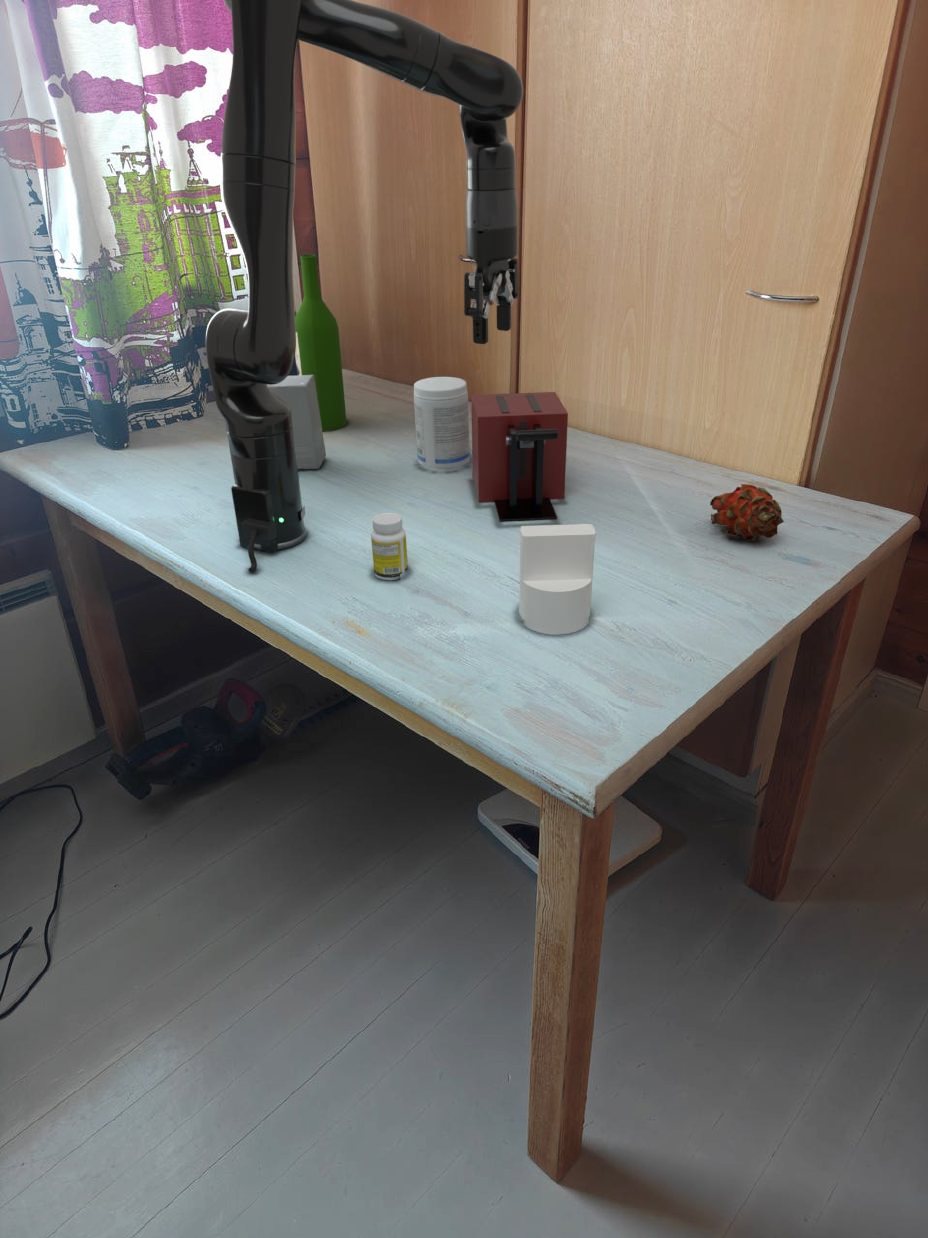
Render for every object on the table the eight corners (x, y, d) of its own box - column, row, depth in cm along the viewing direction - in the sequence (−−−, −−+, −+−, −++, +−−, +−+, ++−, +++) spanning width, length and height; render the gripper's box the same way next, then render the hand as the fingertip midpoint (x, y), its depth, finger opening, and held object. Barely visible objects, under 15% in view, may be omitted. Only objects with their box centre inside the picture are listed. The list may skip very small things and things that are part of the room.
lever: (558, 442, 122) (557, 425, 121) (517, 444, 121) (517, 426, 121) (542, 447, 136) (541, 432, 135) (506, 449, 135) (505, 433, 135)
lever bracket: (557, 524, 136) (560, 438, 129) (499, 526, 135) (499, 440, 128) (547, 499, 145) (549, 417, 138) (492, 501, 144) (492, 419, 137)
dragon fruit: (774, 562, 127) (708, 545, 136) (805, 517, 128) (738, 503, 138) (754, 525, 122) (686, 510, 131) (786, 479, 123) (717, 467, 132)
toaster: (564, 503, 143) (568, 412, 135) (478, 507, 142) (477, 416, 134) (552, 476, 153) (555, 391, 146) (472, 480, 152) (471, 394, 145)
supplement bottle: (390, 562, 125) (387, 508, 121) (415, 571, 123) (412, 516, 119) (366, 574, 122) (362, 519, 118) (391, 584, 120) (387, 528, 115)
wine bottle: (300, 420, 184) (281, 253, 167) (342, 415, 186) (327, 250, 169) (306, 433, 176) (287, 260, 160) (350, 428, 179) (335, 257, 162)
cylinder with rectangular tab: (584, 598, 115) (589, 514, 109) (595, 633, 108) (601, 545, 102) (515, 600, 115) (517, 516, 109) (522, 635, 107) (523, 547, 101)
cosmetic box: (326, 458, 163) (318, 373, 155) (317, 472, 157) (308, 384, 149) (282, 457, 164) (271, 372, 156) (271, 471, 158) (259, 383, 150)
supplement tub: (477, 458, 162) (477, 378, 155) (457, 475, 155) (455, 392, 147) (430, 452, 165) (427, 373, 158) (408, 468, 158) (403, 387, 151)
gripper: (488, 215, 134) (490, 324, 143) (445, 228, 123) (450, 345, 132) (534, 217, 131) (532, 328, 140) (494, 230, 120) (495, 350, 129)
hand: (492, 336), depth 136 cm, fingers open, 8 cm apart
